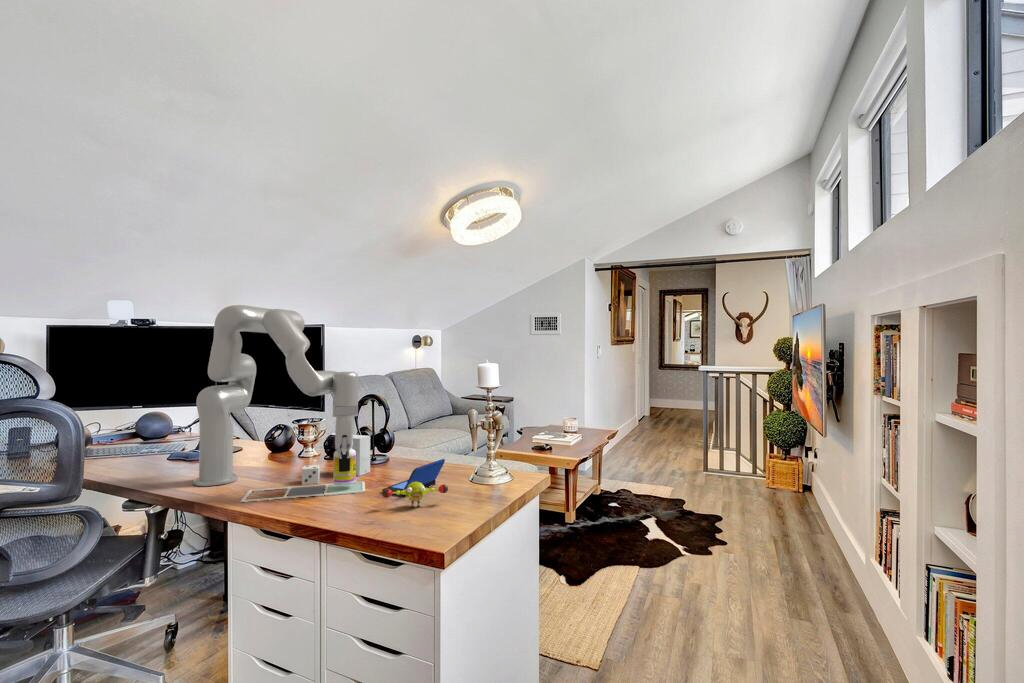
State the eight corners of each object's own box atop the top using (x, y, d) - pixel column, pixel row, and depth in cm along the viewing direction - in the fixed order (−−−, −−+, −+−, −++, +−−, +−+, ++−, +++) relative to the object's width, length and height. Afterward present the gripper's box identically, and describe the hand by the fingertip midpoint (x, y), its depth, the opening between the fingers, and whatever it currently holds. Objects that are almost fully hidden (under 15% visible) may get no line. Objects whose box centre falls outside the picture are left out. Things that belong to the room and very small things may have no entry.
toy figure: (382, 512, 130) (382, 487, 130) (381, 506, 135) (381, 482, 135) (449, 506, 135) (449, 482, 135) (446, 501, 140) (446, 477, 140)
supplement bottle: (356, 485, 151) (356, 443, 151) (333, 487, 148) (334, 444, 148) (354, 479, 157) (355, 439, 157) (332, 481, 154) (333, 440, 155)
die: (303, 481, 163) (303, 465, 163) (319, 479, 164) (319, 464, 164) (301, 484, 158) (301, 469, 158) (318, 483, 159) (318, 468, 159)
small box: (370, 472, 174) (370, 435, 175) (359, 476, 168) (359, 438, 169) (351, 470, 177) (352, 434, 178) (340, 474, 171) (340, 437, 172)
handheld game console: (413, 482, 162) (413, 454, 162) (446, 487, 155) (446, 458, 156) (379, 494, 148) (380, 463, 148) (414, 500, 142) (414, 468, 142)
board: (249, 491, 150) (249, 490, 150) (364, 482, 160) (364, 481, 160) (240, 502, 138) (240, 501, 138) (365, 492, 148) (365, 490, 149)
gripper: (334, 408, 160) (333, 463, 160) (331, 415, 144) (330, 476, 143) (358, 407, 162) (357, 462, 162) (357, 414, 146) (357, 474, 145)
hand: (344, 468), depth 153 cm, fingers closed on supplement bottle, 6 cm apart
